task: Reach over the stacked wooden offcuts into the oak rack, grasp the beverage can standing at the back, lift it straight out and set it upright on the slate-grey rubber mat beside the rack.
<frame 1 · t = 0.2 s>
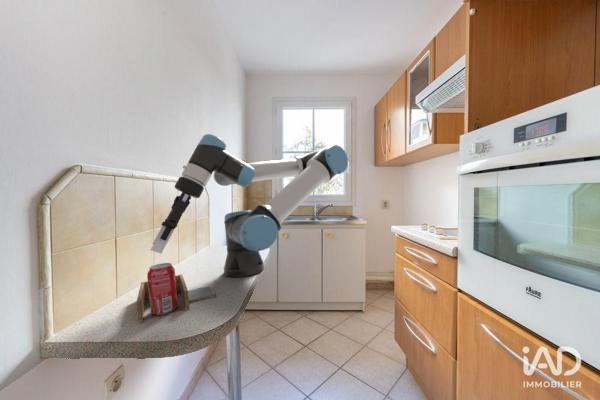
hand: (156, 248, 68), 16 cm above the table, tool tilted 30°, fingers open, 13 cm apart
birch offcut: (163, 285, 73), point 4 cm above the table, touching walnut offcut
rack: (164, 303, 68), on the table
walnut offcut: (164, 298, 73), resting in rack, touching birch offcut
mat: (200, 294, 73), on the table
beverage can: (164, 311, 64), on the table
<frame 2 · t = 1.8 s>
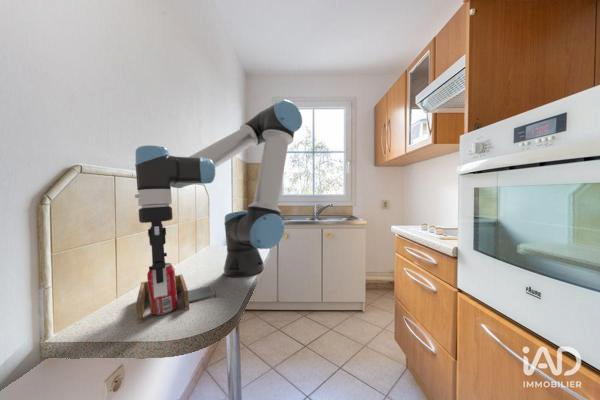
hand: (160, 287, 63), 6 cm above the table, tool pointing down, fingers open, 13 cm apart
nothing on the table moved.
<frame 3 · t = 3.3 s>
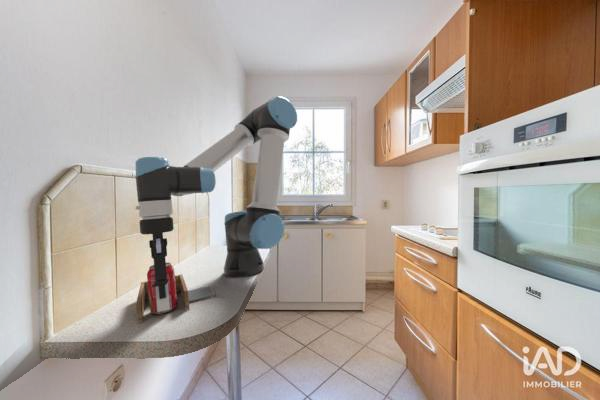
hand: (163, 306, 63), 1 cm above the table, tool pointing down, fingers closed on beverage can, 5 cm apart
beverage can: (164, 311, 64), on the table, touching gripper
everything else where it was.
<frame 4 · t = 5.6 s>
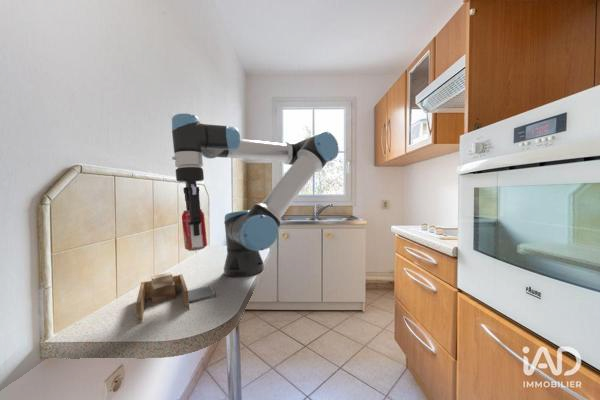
hand: (196, 245, 73), 15 cm above the table, tool pointing down, fingers closed on beverage can, 5 cm apart
beverage can: (196, 249, 74), point 13 cm above the table, touching gripper
everything else where it was.
when the fingers open (2 cm above the table, at t = 8.0 s): beverage can stays where it is, resting on mat.
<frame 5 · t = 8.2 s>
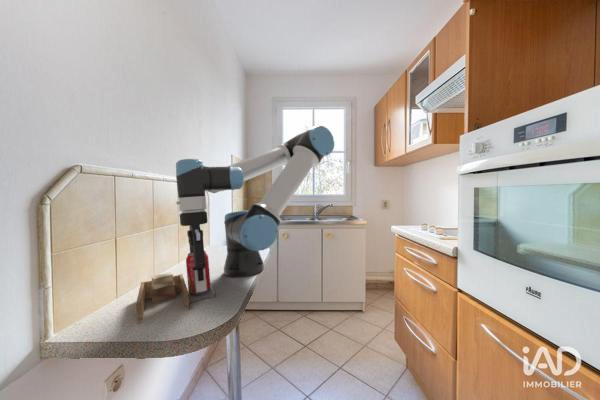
hand: (199, 287, 73), 2 cm above the table, tool pointing down, fingers open, 7 cm apart
beverage can: (200, 292, 74), resting on mat
everything else where it was.
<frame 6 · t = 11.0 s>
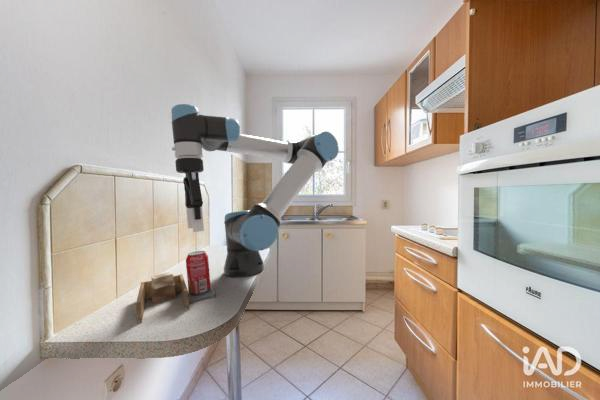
hand: (195, 229, 73), 20 cm above the table, tool pointing down, fingers open, 13 cm apart
nothing on the table moved.
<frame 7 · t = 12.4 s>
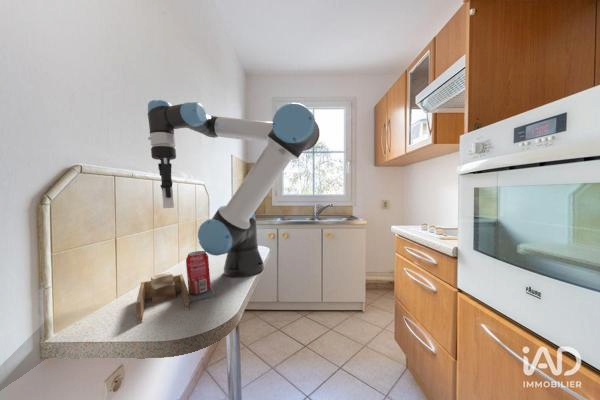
hand: (168, 208, 85), 27 cm above the table, tool pointing down, fingers open, 13 cm apart
nothing on the table moved.
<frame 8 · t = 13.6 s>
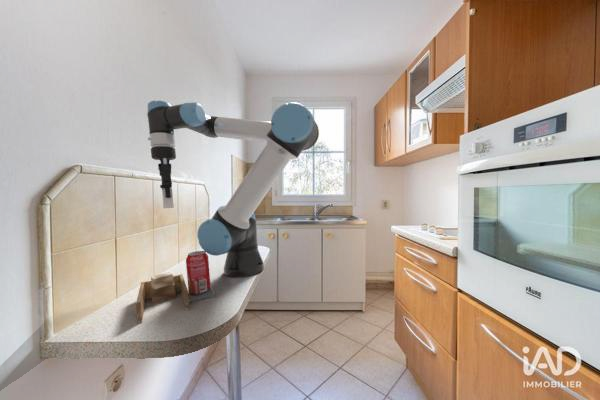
hand: (168, 208, 85), 27 cm above the table, tool pointing down, fingers open, 13 cm apart
nothing on the table moved.
at the end: beverage can inside the target area on the mat (0.7 cm from its centre), point 0.4 cm above the mat's base; beverage can tilted 0°; the gripper is holding nothing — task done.
